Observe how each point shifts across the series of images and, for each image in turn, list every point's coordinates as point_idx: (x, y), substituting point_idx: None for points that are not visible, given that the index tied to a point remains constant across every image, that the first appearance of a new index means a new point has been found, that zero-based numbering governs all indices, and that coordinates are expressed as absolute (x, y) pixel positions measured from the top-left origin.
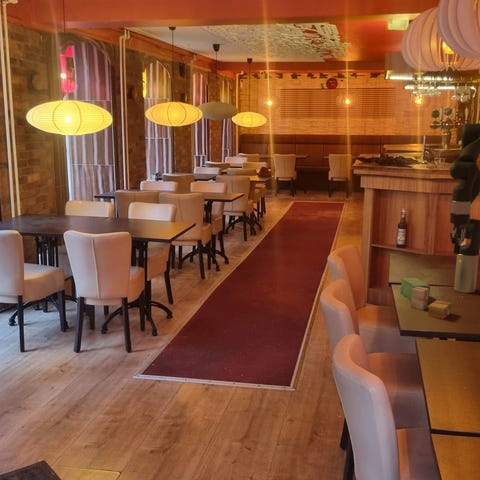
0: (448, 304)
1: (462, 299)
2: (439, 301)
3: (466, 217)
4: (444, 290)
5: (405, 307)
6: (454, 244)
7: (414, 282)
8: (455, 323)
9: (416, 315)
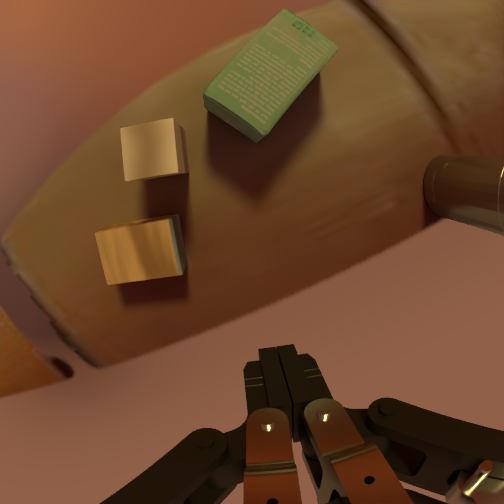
0: (157, 276)
1: (362, 220)
2: (163, 235)
3: None
4: (409, 136)
5: None
6: (240, 426)
7: (257, 67)
8: (118, 312)
9: (88, 198)
